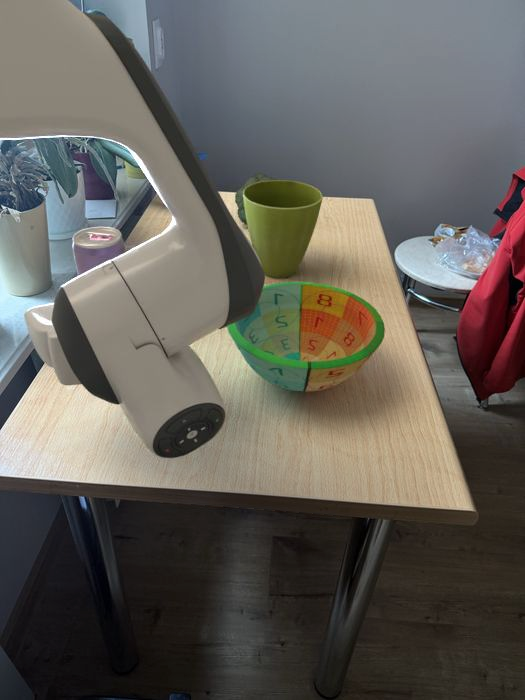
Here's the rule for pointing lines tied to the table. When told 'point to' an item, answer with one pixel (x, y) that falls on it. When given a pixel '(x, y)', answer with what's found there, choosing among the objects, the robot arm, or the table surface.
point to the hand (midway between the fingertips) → (103, 285)
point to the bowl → (308, 335)
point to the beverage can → (96, 247)
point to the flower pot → (281, 223)
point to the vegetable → (239, 194)
